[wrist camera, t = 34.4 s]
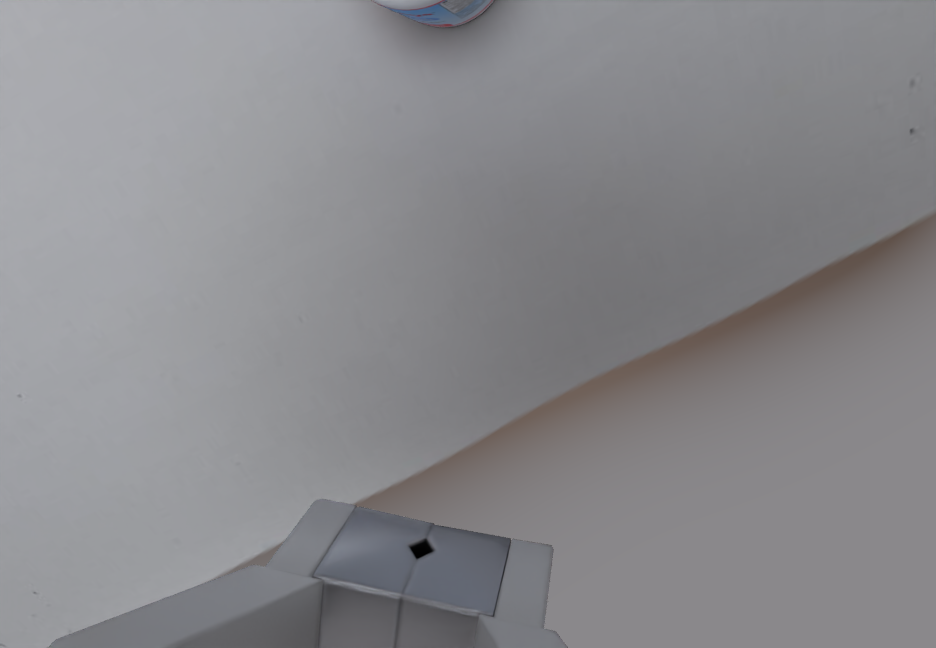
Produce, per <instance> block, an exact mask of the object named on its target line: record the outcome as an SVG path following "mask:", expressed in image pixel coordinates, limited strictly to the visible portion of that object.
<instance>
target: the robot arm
mask: <svg viewBox="0 0 936 648" xmlns="http://www.w3.org/2000/svg"><path fill="white" fill-rule="evenodd" d="M552 558H553V547H552V545H548V544H541V543H535V542H529V541H523V540H517V539H512V541H511V539H510V538H506V537H500V536H495V535H489V534H483V533H478V532H473V531H467V530H461V529H456V528H450V527H444V526H439V525H434V523H429V522H425V521H421V520H416V519H412V518H407V517H403V516H399V515H395V514H390V513H385V512H381V511H377V510H372V509H368V508H364V507H357V506H356V505H352V504H347V503H342V502H336V501H331V500H326V499H319V500H316V501H315V502H313V504H312V505H311V506H310V508H309V509H308V510H307V512H306V513H305V514H304V516H303V517H302V518H301V520H300V521H299V522H298V524H297V525H296V526H295V528H294V529H293V530H292V532H291V533H290V534H289V536H288V537H287V538H286V540H285V541H284V542H283V544H282V545H281V546H280V548H279V549H278V550H277V552H276V553H275V554H274V556H273V557H272V558H271V560H270V561H269V562H268V564H267V565H266V566H265V567H263V566H258V565H251V566H249V567H246V568H243V569H241V570H238V571H235V572H233V573H230V574H228V575H225V576H222V577H220V578H217V579H214V580H212V581H209V582H206V583H204V584H201V585H198V586H196V587H193V588H191V589H188V590H185V591H183V592H180V593H177V594H175V595H172V596H169V597H167V598H164V599H162V600H159V601H156V602H154V603H151V604H148V605H146V606H143V607H140V608H138V609H135V610H133V611H130V612H127V613H125V614H122V615H119V616H117V617H114V618H111V619H109V620H106V621H103V622H101V623H98V624H96V625H93V626H90V627H88V628H85V629H82V630H80V631H77V632H74V633H72V634H69V635H67V636H64V637H61V638H59V639H56V640H55V641H54V642H53V643H52V644H51V645H50V646H49V647H48V648H568V647H567V646H566V644H565V643H564V642H563V640H562V639H561V638H560V636H559V635H558V634H557V632H555V631H553V630H548V629H544V623H545V614H546V607H547V599H548V590H549V582H550V574H551V566H552Z"/></svg>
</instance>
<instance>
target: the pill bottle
mask: <svg viewBox="0 0 936 648" xmlns="http://www.w3.org/2000/svg"><path fill="white" fill-rule="evenodd" d="M371 1H373V2H375V3H377V4H379V5H381V6H384V7H386V8H388V9H390V10H392V11H394V12H397V13H399V14H401V15H404V16H406V17H408V18H411V19H413V20H415V21H417V22H419V23H423V24H426V25H429V26H434V27H453V26H458V25H462V24H464V23H467V22H469V21H471V20H473V19H475V18H476V17H477V16H479V15H480V14H481V13H483V12H484V11H485V10H486V9H487V8H488V7H489V6H490V5H491V4H492V2H493V1H494V0H371Z"/></svg>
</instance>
